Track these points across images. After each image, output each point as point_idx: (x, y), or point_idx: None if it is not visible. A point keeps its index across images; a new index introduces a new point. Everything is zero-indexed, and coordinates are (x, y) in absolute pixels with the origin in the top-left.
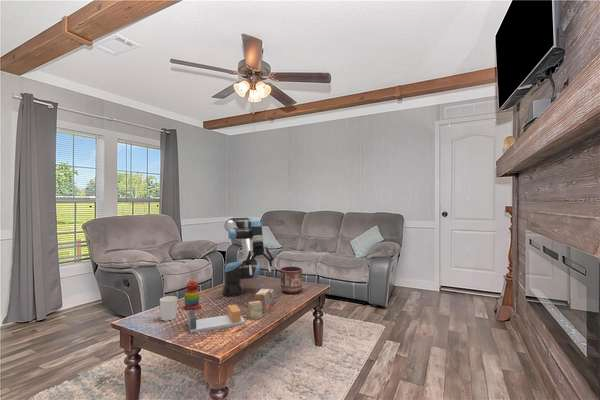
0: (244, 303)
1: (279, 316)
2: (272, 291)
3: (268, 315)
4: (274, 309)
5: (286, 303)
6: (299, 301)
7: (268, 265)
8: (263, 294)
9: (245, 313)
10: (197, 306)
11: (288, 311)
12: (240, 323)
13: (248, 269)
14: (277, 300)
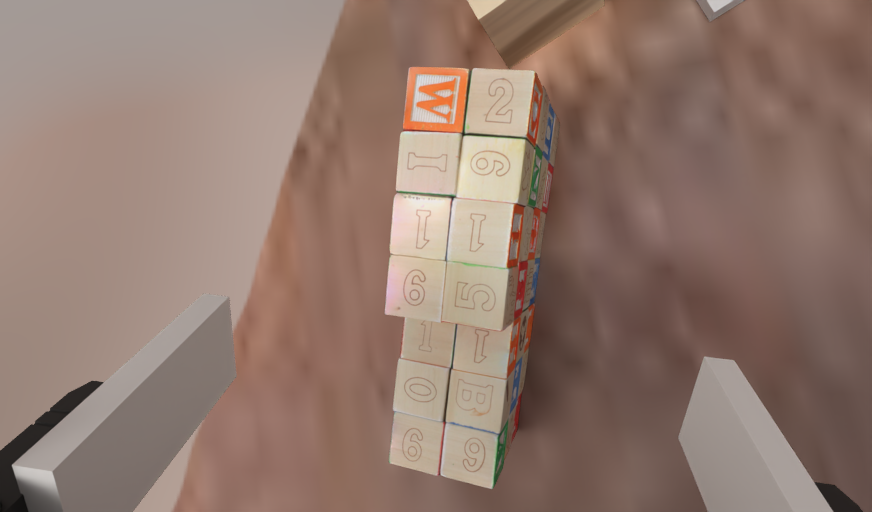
0: None
1: (339, 71)
2: (394, 397)
3: None
4: None
5: (323, 386)
6: (230, 436)
7: (138, 375)
8: (429, 79)
9: (658, 89)
10: None
11: (287, 192)
12: None
13: (838, 496)
14: (411, 471)
